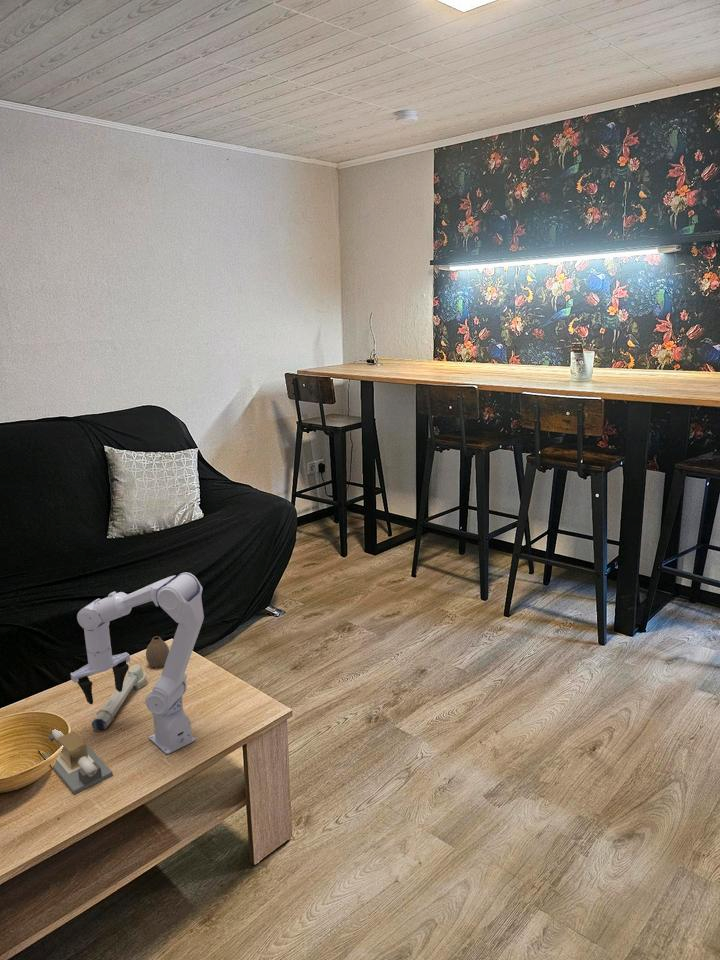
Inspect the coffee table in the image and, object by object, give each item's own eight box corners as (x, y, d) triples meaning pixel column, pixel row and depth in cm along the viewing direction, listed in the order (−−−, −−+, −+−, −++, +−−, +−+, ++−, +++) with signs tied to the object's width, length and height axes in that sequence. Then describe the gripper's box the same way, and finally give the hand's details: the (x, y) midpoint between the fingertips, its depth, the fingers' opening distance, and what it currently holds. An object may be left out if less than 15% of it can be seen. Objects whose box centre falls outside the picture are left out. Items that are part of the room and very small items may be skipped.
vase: (144, 662, 207) (142, 636, 205) (167, 656, 210) (164, 630, 208) (149, 672, 201) (147, 645, 199) (173, 666, 204) (170, 640, 202)
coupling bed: (112, 775, 156) (110, 757, 155) (74, 794, 150) (71, 776, 149) (74, 734, 172) (72, 718, 171) (38, 750, 166) (35, 734, 165)
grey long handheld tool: (87, 718, 172) (130, 658, 195) (92, 739, 175) (133, 676, 198) (106, 719, 172) (147, 658, 195) (111, 740, 174) (150, 677, 197)
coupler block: (88, 761, 160) (86, 743, 158) (71, 769, 157) (69, 751, 156) (76, 748, 164) (74, 730, 163) (60, 756, 162) (57, 738, 161)
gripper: (119, 632, 176) (124, 679, 179) (63, 652, 166) (69, 701, 170) (131, 641, 171) (137, 689, 175) (75, 662, 161) (81, 713, 165)
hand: (104, 696), depth 172 cm, fingers open, 7 cm apart
